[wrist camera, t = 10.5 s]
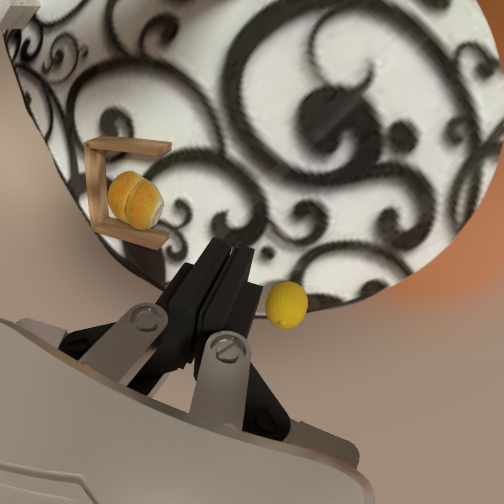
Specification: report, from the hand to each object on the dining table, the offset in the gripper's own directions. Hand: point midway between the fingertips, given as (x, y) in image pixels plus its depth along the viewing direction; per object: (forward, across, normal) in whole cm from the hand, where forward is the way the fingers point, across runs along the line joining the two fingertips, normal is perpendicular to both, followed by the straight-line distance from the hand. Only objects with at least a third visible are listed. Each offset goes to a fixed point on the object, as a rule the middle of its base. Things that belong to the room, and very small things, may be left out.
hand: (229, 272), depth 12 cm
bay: (+25, +21, +11) cm, 34 cm away
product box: (+26, +52, -20) cm, 61 cm away
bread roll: (+25, +20, +13) cm, 35 cm away
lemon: (+24, -5, +20) cm, 32 cm away
